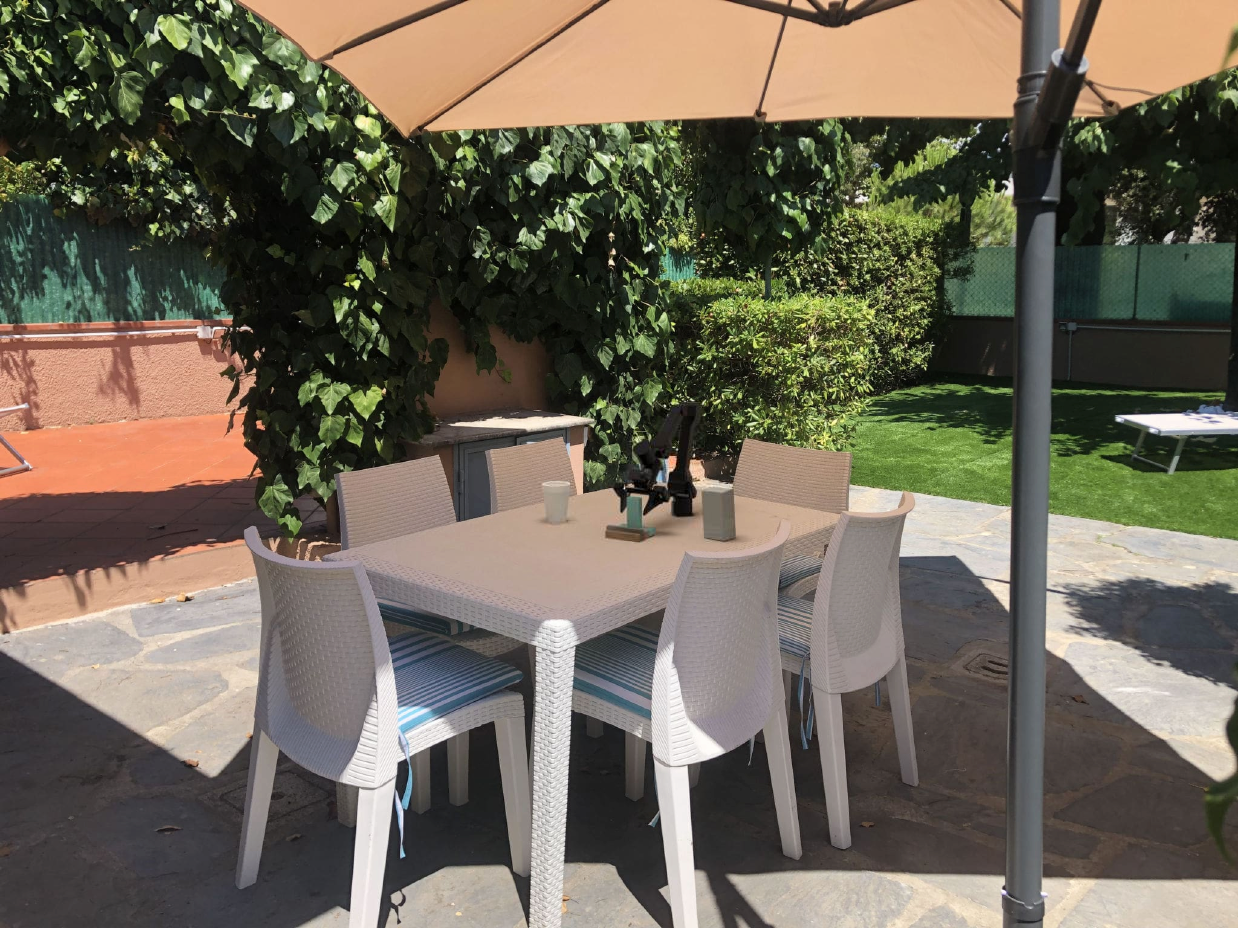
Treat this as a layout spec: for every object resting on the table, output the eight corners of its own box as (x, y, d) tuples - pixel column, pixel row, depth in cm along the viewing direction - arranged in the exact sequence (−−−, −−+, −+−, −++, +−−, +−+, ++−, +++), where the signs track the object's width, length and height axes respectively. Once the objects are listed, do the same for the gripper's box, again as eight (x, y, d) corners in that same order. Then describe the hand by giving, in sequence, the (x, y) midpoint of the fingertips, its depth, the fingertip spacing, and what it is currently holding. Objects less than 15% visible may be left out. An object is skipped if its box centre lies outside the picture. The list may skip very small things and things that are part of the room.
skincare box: (736, 538, 307) (736, 488, 305) (722, 542, 302) (722, 491, 300) (714, 534, 313) (715, 485, 310) (700, 538, 308) (700, 488, 305)
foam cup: (575, 519, 335) (575, 482, 333) (562, 525, 327) (562, 487, 325) (551, 517, 339) (550, 480, 337) (537, 523, 331) (536, 485, 329)
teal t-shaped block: (623, 529, 319) (622, 494, 317) (655, 533, 313) (655, 497, 311) (616, 532, 315) (616, 496, 313) (649, 536, 309) (649, 500, 307)
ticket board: (615, 533, 315) (615, 522, 315) (649, 537, 309) (649, 526, 308) (604, 537, 310) (604, 526, 309) (639, 542, 303) (639, 531, 303)
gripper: (614, 456, 317) (597, 496, 310) (666, 461, 308) (649, 502, 301) (627, 477, 325) (610, 516, 318) (677, 481, 316) (661, 522, 308)
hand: (632, 513), depth 311 cm, fingers open, 8 cm apart
